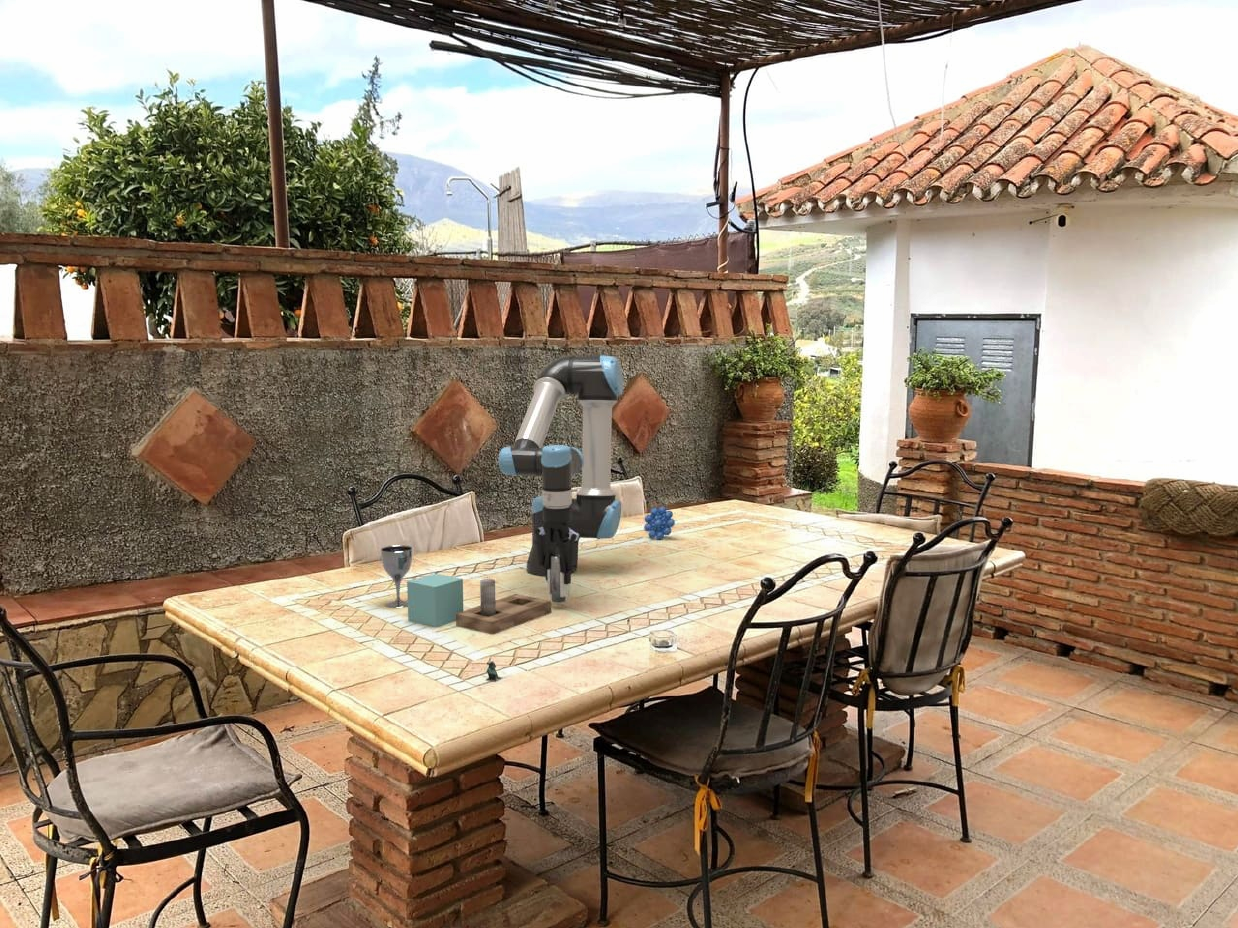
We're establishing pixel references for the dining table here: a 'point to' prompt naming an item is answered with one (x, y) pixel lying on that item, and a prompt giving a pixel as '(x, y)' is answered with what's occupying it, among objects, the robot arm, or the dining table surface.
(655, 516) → the grapes
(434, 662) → the dining table surface
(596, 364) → the robot arm
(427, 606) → the teal cube block
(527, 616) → the board
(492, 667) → the sculpture
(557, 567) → the pin
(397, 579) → the wine glass
